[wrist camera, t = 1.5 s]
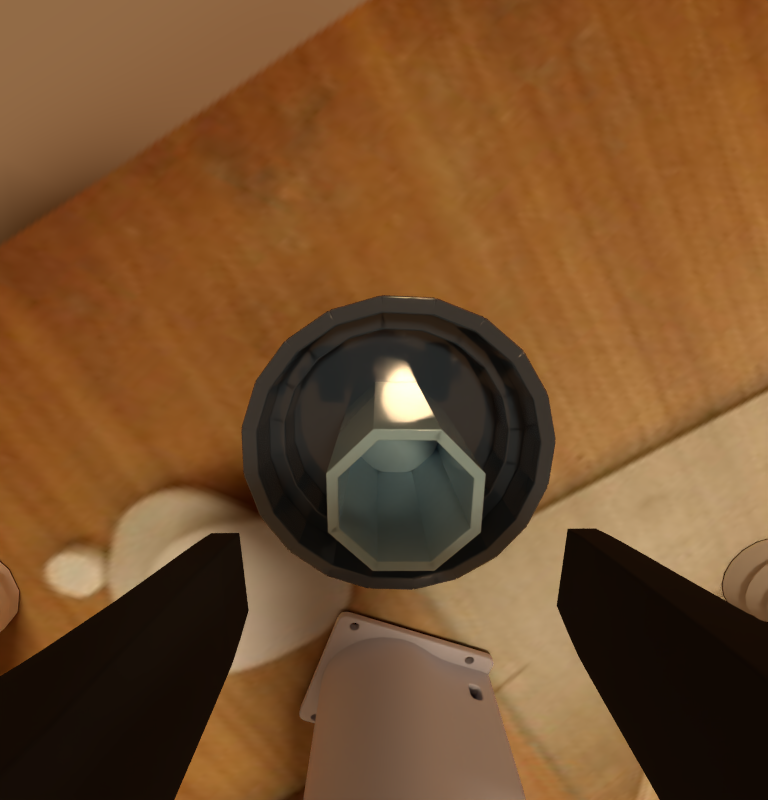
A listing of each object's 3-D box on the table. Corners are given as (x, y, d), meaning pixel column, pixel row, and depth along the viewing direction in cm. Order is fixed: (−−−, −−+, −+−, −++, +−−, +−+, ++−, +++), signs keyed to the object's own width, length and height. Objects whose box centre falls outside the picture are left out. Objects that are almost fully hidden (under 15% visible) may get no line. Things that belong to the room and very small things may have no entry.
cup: (445, 382, 17) (489, 429, 10) (440, 474, 18) (478, 571, 12) (345, 381, 17) (324, 428, 10) (346, 474, 18) (328, 571, 12)
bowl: (559, 354, 18) (611, 367, 14) (458, 562, 20) (477, 622, 16) (315, 258, 16) (296, 242, 12) (242, 492, 19) (207, 539, 15)
